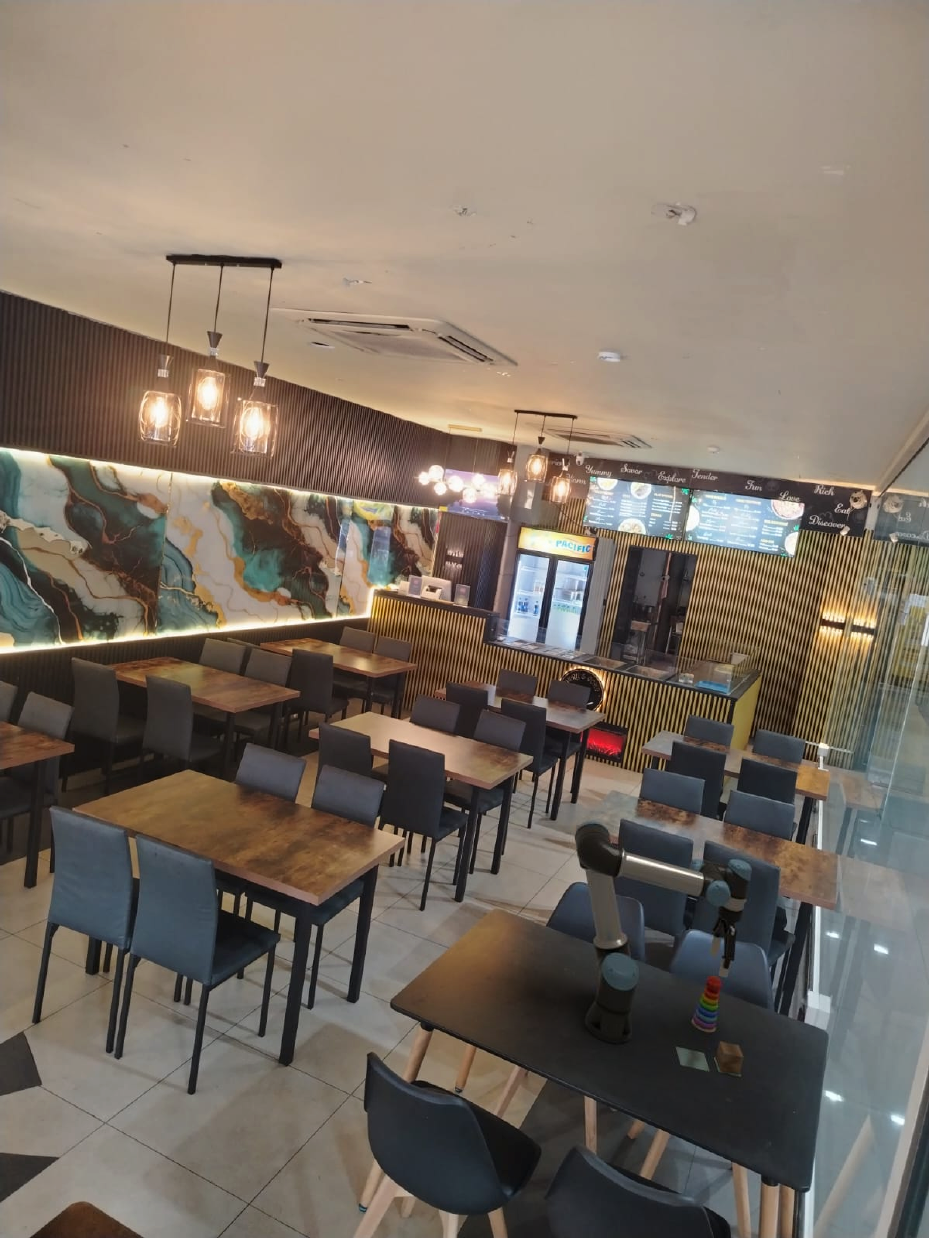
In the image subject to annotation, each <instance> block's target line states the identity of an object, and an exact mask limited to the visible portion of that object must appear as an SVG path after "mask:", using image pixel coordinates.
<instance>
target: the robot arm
mask: <svg viewBox="0 0 929 1238" xmlns="http://www.w3.org/2000/svg"><path fill="white" fill-rule="evenodd" d="M574 842H575V847H576V854H577V855H576V856H577V857H578V858H577V859H578V863H579V867H580V868H581V869H582V870H584V871H585V877H586V882H587V887H588V894H589V899H590V906H591V910H592V916H593V920H594V921H593V923H594V926H595V927H594V928H595V933H596V935H595V937H594V938H593V941H592V942H593V946H594V955H595V960H596V965H597V972H598V985H597V990H596V995H595V998H594V1002H593V1003H592V1005H590V1008H589V1009H588V1011H587V1012H586V1016H585V1020H584V1025H585V1027H586V1029H587V1030H588V1032H589V1033H590V1034H591V1035H592V1036H594V1037H595V1038H597V1039H599V1040H601V1041H603V1042H606V1043H610V1044H615V1045H616V1044H624V1043H627V1042H628V1041H629V1040H630V1039H631V1037H632V1032H633V1027H632V1018H631V1011H632V1006H633V1001H634V997H635V993H636V987H637V985H638V981H639V972H640V971H639V967H638V966H639V965H638V964H637V963H636V961H635V960H633V959H632V957H631V956H632V955H631V950H630V946H629V945H630V944H629V941H628V935H627V934H625V933H624V932H623V930H622V925H621V919H620V914H619V909H618V903H617V898H616V897H617V896H616V891H615V885H614V880H613V879H614V878H615V879H618V878H619V877H625V878H628V879H632V880H635V881H640V882H642V883H643V882H644V883H646V884H650V885H655V886H657V887H661V888H666V889H669V890H672V891H677V892H680V893H683V894H688V895H689V896H690V895H691V896H694V897H699V898H702V899H705V900H706V901H708V903H709V904H711V905H712V906H713V907H717V908H718V911H717V914H718V916H717V918H716V920H715V923H714V925H713V927H712V932H713V933H712V934H713V937H712V941H711V945H710V950H709V956H714V957H719V952H720V949H721V944H722V938H723V940H724V941H723V955H722V956H721V962H720V967H719V972H718V976H719V977H721V978H722V977H723V978H728V975H729V971H730V967H731V963H732V961H733V962H735V955H736V941H737V933H738V929H736V926H735V924H736V923H739V922H741V920H742V916H743V910H744V907H745V903H747V899H746V898H747V893H748V890H749V886H750V882H751V878H752V873H753V872H752V871H753V870H752V866H751V865H750V864H749V862H746V861H745V860H741V859H737V858H736V859H734V858H732V859H730V860H729V861H728V863H727V864H724V863H723V864H722V863H718V862H714V861H708V860H705V859H698V858H694V859H692V860H691V862H690V864H689V867H688V868H685V867H682V866H679V865H675V864H670V863H667V862H664V861H660V860H658V859H657V860H656V859H653V858H649V857H645V856H641V855H638V854H634V853H630V852H627V851H625V849H624V847H621V846H617V845H615V844H613V843H612V840H611V835H610V832H609V829H607V826H606V825H604V824H603V823H601V822H600V821H597V820H588V821H584V822H582V823H581V824H580V825H579V826H578V827H577V828H576V830H575V835H574Z"/></svg>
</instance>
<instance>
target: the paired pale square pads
mask: <svg viewBox="0 0 929 1238" xmlns="http://www.w3.org/2000/svg"><path fill="white" fill-rule="evenodd" d="M675 1050H676V1053H677V1056H678V1059H679V1064H680V1066H683V1067H688V1068H691V1069H695V1070H696V1069H697V1070H701V1071H705V1072H710V1068H709V1065H708V1062H707V1058H706V1056H705V1053H704V1052H700V1051H696V1050H691V1049H688V1048H683V1047H678V1046H675ZM713 1059H714V1062H715V1065H716V1068H717V1070H718V1072H719V1073H723V1074H727V1075H732V1076H736V1077H741V1078H742V1074H741V1073H740V1075H736V1074H732V1073H727V1072H723V1071H720V1069H719V1066H718V1064H717V1061H716V1056H715V1057H713Z"/></svg>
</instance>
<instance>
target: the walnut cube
mask: <svg viewBox="0 0 929 1238" xmlns="http://www.w3.org/2000/svg"><path fill="white" fill-rule="evenodd" d="M717 1047H718V1048H717V1051H716V1056H715V1058H716V1061H717V1064H718V1066H719V1069H720V1071H723V1072H727V1073H732V1074H736V1075H740V1074H741V1071H742V1065H743V1062H744V1054H743V1052H742V1050H741V1048H740V1045H739V1044H734V1043H729V1042H724V1041H721V1040H720V1041H719V1043H718V1046H717ZM727 1073H726V1074H727Z"/></svg>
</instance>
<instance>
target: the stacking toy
mask: <svg viewBox="0 0 929 1238" xmlns="http://www.w3.org/2000/svg"><path fill="white" fill-rule="evenodd" d="M705 981H706V982H705V985H706V987H705V988H704V990H703V993H702V994H701V998H700V999H699V1003H698V1004H697V1009H695V1013H694V1014H693V1016H692V1019H691V1024H692V1025H693V1026H694V1027H695V1028H697V1029H698V1030H700V1031H703V1032H705V1033H714V1032H716V1026H717V1025H716V1024H717V1022H716V1021H717V1020H718V1017H717V1016H718V1008H719V1004H718V1003H719V996H720V990H721V988H722V986H723V985H722V980H721V979H720V978H719V977H718V976H716V975H710V976H708V977H707V978H706V980H705Z"/></svg>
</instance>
